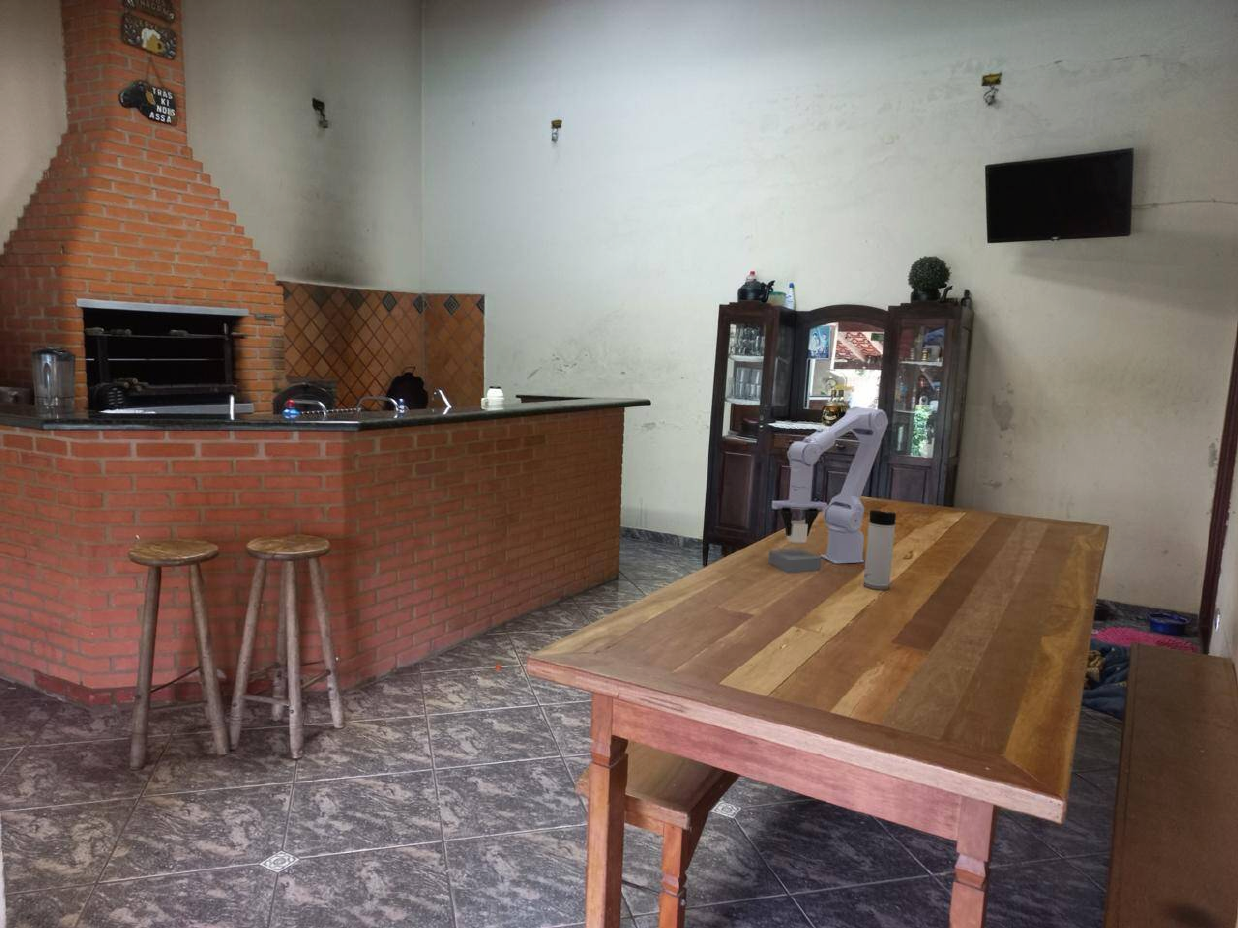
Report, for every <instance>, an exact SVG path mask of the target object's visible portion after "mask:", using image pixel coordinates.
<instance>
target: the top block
mask: <svg viewBox="0 0 1238 928" xmlns="http://www.w3.org/2000/svg"><path fill="white" fill-rule="evenodd" d="M807 529H808V524H806V523H805V521H803V520H791V534H790V536H787V535H786V539H787V540H788V541H790V542H791V543H807V539H808V536H807Z"/></svg>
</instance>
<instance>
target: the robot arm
mask: <svg viewBox="0 0 1238 928" xmlns="http://www.w3.org/2000/svg"><path fill="white" fill-rule="evenodd" d="M888 424H889V420H888V417H887V414H886V412H885V411H884V410H883V409H881V408H878V409H877V408H870V407H869V408H868V407H861V406H858V405H857V406H852V407H851V408H850V409H847V410H846V411H845V414H844V415H843V417H841V418H839V420H837V421H836V422H835V423H834V424H832V425H831V426H830V427H829V428H826V427H822V428H821V427H818V428H817V429H816V431H815V432H814V433H812V434H810V435H809V436H806V437H804V439H803V440H801V441H799V440H798V441H795V442H793V443H792V444H791V445H790V447H789V448H788V450H787V452H786V456H787V458H788V460H789V466H790V483H789V494H788V495H789V496H788V499H786V500H783V499H782V500H772V501H771V509H773V510H779V512H780V514H781V517H782V519H783V522H784V523H783V524H784V529H785V535H786V537H787V536H790V534H791V521H793V520H792V519H793V514H794V513H793V512H792V510H804V522H805V523H806V524H808V529H807V537H809V535H810V531H811V528H812V526H813V524H814V522H815V520H816V519H817V518H818V516H819V511H822V512H823V520H824V522H825V523H826V527H827V528H828V532H827V533H828V536H827V547H826V554H820V556H819V557H821V558H822V559H825V560H827V561H829V562H831V563H833V564H838V565H839V564H850V563H851V564H852V563H855V564H856V563H864V559H863V552H864V543H865V541H864V540H865V539H864V533H863V532H862V530H860V527H862V524H863V519H864V511H865V510H866V509H865V507H864V505H863V504H862V502H861V500H860V499H861V497H862V494H863V491H864V488H865V486H866V483H867V480H868V478H869V476H870V473H871V470H872V467H873V465H874V464H875V463H874V462H875V460H876V457H877V454H878V452H879V449H880V447H881V444H882V440H883V437H884V435H885V433H886V432H885V431H886V429H887V427H888ZM850 431H852V433H853V434H854V436H855V437H856V438H857V439H858V442H859V444H858V446H857V448H856V449H857V450H856V452H855V455H854V457H853V460H852V462H851V465H850V468H849V471H848V473H847V474H846V478H845V481H844V483H843V486H842V489H841V492H840V493H838V494H837V495H835V496H833V497H832V498H831V499H830V502H829V504H828V503H827V502H826V501H825V502H824V501H811V499H812V486H813V485H812V484H813V476H814V475H813V474H814V473H813V471H814V464H816V463H817V462H818V461H819V459H820V456H821V455H822V454H823V453H824V452H826V451H828V450H829V449H830V448H833V447H834V445H835V443H836V439H838V438H840V437H842V436H844V435H846V434H847V433H849V432H850Z"/></svg>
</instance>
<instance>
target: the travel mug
mask: <svg viewBox="0 0 1238 928" xmlns="http://www.w3.org/2000/svg"><path fill="white" fill-rule="evenodd" d="M869 512H870V513H869V521H868V530H867V541H866V551H865V553H866V554H865V563H864V575H863V586H864V587H865V588H868V589H871V590H875V591H877V590H878V591H885V590H888V589H889V588H890V583H891V582H890V581H891V574H892V573H891V571H892V563H893V562H892V560H893V550H894V541H895V533H896V532H895V529H896V518H897V513H895V512H891V511H888V512H886V511H881V510H874V509H873V510H870V511H869Z"/></svg>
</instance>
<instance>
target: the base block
mask: <svg viewBox="0 0 1238 928" xmlns="http://www.w3.org/2000/svg"><path fill="white" fill-rule="evenodd" d="M768 552H769V553H768V564H769V565H771V566H773V567H775V568H777V569H779V570H781V571H783V572H785V573H786V574H800V573H811V572H820V571H821V566H822V557H821V556H818V555H816V554H814V553H811V552H809V551H808V550H805V549H802V548H799V547H797V548H786V549H783V548H782V549H772V550H768Z"/></svg>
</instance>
